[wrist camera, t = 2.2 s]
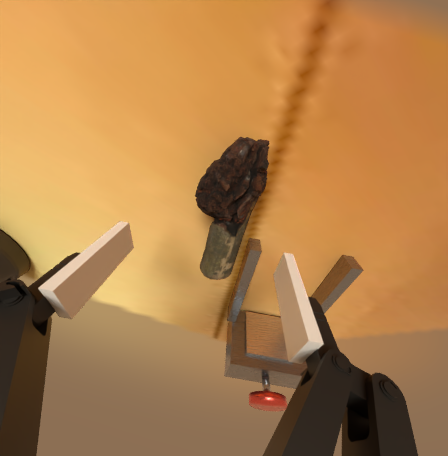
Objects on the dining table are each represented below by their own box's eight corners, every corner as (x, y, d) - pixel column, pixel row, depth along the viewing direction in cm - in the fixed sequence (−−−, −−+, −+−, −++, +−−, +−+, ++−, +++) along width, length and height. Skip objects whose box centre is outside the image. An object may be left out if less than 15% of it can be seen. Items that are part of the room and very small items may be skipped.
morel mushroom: (232, 261, 27) (229, 291, 22) (191, 251, 27) (180, 279, 22) (276, 142, 17) (288, 152, 13) (212, 124, 17) (200, 127, 12)
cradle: (223, 323, 37) (216, 402, 27) (249, 238, 24) (254, 330, 13) (290, 335, 37) (308, 418, 27) (352, 257, 24) (436, 362, 14)
